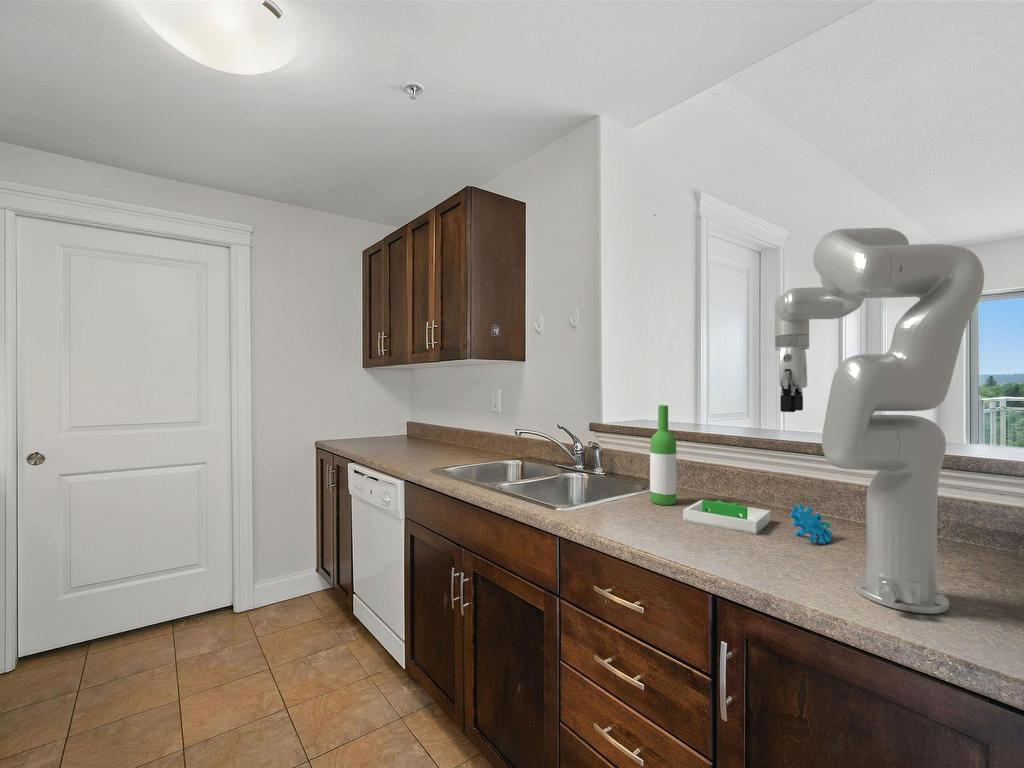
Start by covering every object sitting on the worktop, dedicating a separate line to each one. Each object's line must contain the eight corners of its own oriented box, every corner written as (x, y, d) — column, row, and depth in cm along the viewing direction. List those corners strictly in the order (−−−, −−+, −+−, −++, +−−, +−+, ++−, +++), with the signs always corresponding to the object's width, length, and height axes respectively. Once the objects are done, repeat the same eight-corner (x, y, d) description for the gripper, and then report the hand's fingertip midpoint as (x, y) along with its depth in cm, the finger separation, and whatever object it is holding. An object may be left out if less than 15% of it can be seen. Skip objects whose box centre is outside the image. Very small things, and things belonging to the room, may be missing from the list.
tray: (756, 534, 118) (756, 522, 118) (683, 520, 129) (683, 509, 129) (770, 521, 128) (770, 510, 128) (701, 510, 140) (701, 499, 140)
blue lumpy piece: (807, 540, 108) (786, 501, 115) (790, 552, 112) (770, 514, 119) (846, 543, 111) (823, 505, 118) (828, 555, 115) (806, 517, 122)
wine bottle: (655, 498, 154) (655, 404, 154) (679, 501, 149) (679, 405, 149) (646, 503, 148) (646, 405, 147) (671, 507, 143) (671, 406, 143)
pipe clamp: (750, 522, 126) (750, 505, 126) (746, 525, 123) (746, 507, 123) (707, 514, 134) (707, 497, 133) (701, 517, 131) (702, 500, 131)
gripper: (802, 340, 113) (802, 413, 113) (814, 344, 126) (814, 410, 126) (767, 342, 118) (767, 412, 118) (782, 346, 131) (782, 409, 131)
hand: (791, 411), depth 122 cm, fingers open, 9 cm apart
